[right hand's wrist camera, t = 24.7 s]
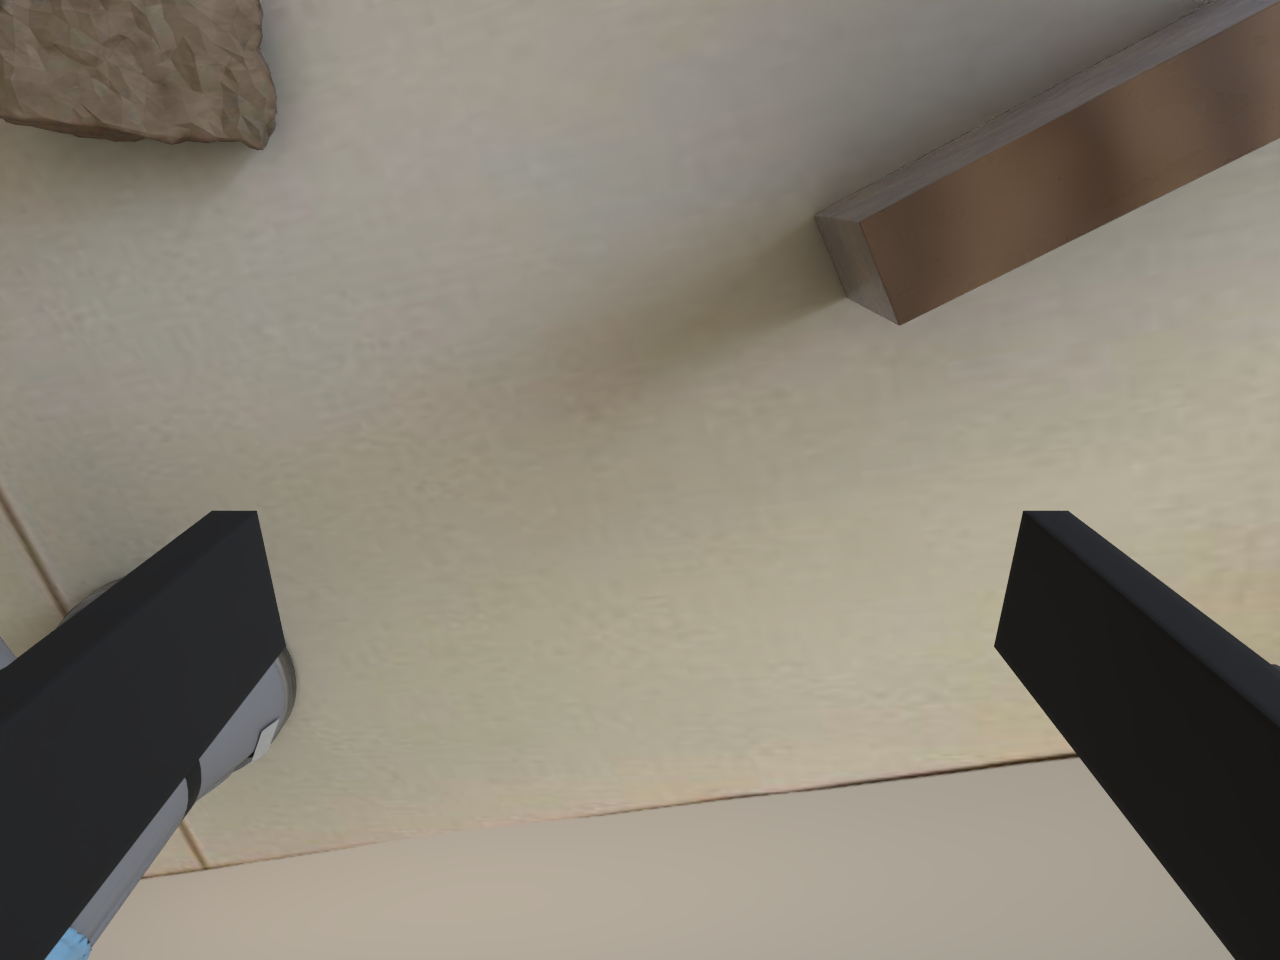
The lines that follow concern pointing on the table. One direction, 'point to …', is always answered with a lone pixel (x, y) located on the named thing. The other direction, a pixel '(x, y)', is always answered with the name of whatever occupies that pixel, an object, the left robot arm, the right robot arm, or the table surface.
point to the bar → (1062, 162)
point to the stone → (137, 69)
